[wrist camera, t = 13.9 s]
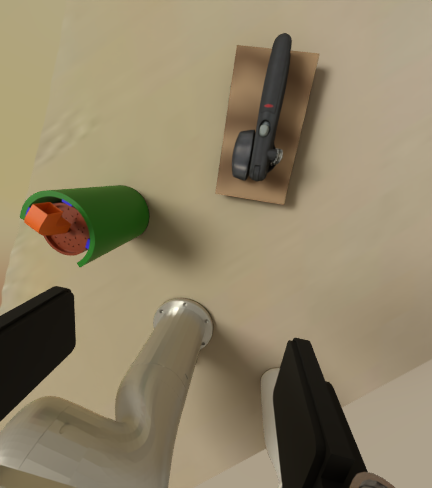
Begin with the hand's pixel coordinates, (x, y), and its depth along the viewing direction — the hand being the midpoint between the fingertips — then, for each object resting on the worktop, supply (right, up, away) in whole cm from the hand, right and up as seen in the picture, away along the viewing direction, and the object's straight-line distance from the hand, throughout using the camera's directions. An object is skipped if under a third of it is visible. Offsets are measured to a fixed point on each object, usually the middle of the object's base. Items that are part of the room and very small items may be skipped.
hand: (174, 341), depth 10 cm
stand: (+9, +22, +26) cm, 35 cm away
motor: (-15, +11, +33) cm, 38 cm away
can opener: (+9, +22, +23) cm, 33 cm away
